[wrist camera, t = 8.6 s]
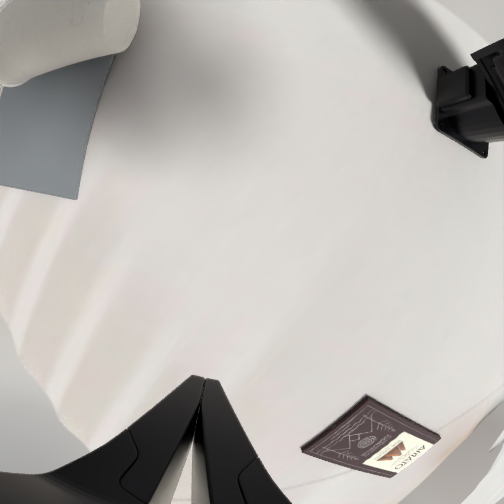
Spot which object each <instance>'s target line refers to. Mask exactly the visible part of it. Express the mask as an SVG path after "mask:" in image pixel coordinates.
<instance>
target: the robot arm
mask: <svg viewBox="0 0 504 504" xmlns="http://www.w3.org/2000/svg"><path fill="white" fill-rule="evenodd" d="M470 55H471V57H472V58H473V60H474V61H476V63H477V64H476V65H474V66H472V67H468V66H464V67H462V68H460V69H458V70H456V71H451V70H449V69H448V68H446V67H445V66H441V67H439V68H438V79H437V97H436V104H437V106H436V118H435V128H436V130H437V131H438V132H440V133H442V134H443V135H445V136H447V137H449V138H450V139H452V140H454V141H455V142H457V143H459V144H460V145H462V146H464V147H465V148H467V149H468V150H470V151H471V152H473V153H475V154H476V155H478V156H479V157H481V158H487V156H488V145H489V142H498V141H504V39H501V40H499V41H497V42H495V43H493V44H491V45H488V46H486V47H484V48H482V49H480V50H478V51H476V52H474V53H472V54H470ZM443 71H444V72H443ZM440 124H441V126H442V128H441V127H440ZM204 382H205V383H204ZM203 387H204V388H203ZM202 392H203V393H202ZM201 397H202V398H201ZM200 402H201V403H200ZM199 407H200V408H199ZM198 412H199V413H198ZM197 417H198V418H197ZM196 422H197V423H196ZM195 427H196V428H195ZM194 432H195V433H194ZM193 437H194V439H193ZM192 441H193V450H192V504H292V503H291V502H290V501H289V499H288V498H287V497H286V496H285V495H284V494H283V492H282V491H281V490H280V489H279V487H278V486H277V485H276V483H275V482H274V481H273V479H272V478H271V476H270V475H269V473H268V472H267V470H266V469H265V467H264V465H263V463H262V462H261V460H260V458H258V455H257V453H256V451H255V450H254V448H253V446H252V444H251V442H250V441H249V439H248V437H247V435H246V433H245V431H244V429H243V427H242V426H241V424H240V422H239V420H238V418H237V416H236V414H235V412H234V410H233V408H232V406H231V404H230V402H229V400H228V398H227V396H226V394H225V392H224V390H223V388H222V386H221V384H220V382H219V381H218V380H214V379H209V378H206V379H205V378H204V377H200V376H196V375H191V376H190V377H189V378H187V379H186V380H185V381H184V382H183V383H182V384H180V385H179V386H178V387H177V388H176V389H174V390H173V391H172V392H171V393H170V394H169V395H167V396H166V397H165V398H164V399H162V400H161V401H160V402H159V403H158V404H156V405H155V406H154V407H153V408H152V409H150V410H149V411H148V412H147V413H145V414H144V415H143V416H142V417H140V418H139V419H138V420H137V421H135V422H134V423H133V424H132V425H130V426H129V427H128V428H127V429H125V430H124V431H122V432H121V433H120V434H119V435H117V436H116V437H114V438H113V439H112V440H110V441H109V442H107V443H106V444H104V445H103V446H101V447H99V448H97V449H96V450H94V451H92V452H90V453H88V454H86V455H85V456H82V457H81V458H79V459H77V460H75V461H72V462H70V463H69V464H66V465H65V466H62V467H60V468H58V469H56V470H53V471H50V472H47V473H43V474H19V473H8V472H0V504H170V503H171V500H172V498H173V495H174V492H175V489H176V487H177V484H178V481H179V478H180V476H181V473H182V470H183V467H184V464H185V462H186V459H187V456H188V453H189V450H190V448H191V444H192Z"/></svg>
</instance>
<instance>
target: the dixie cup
mask: <svg viewBox="0 0 504 504" xmlns="http://www.w3.org/2000/svg"><path fill="white" fill-rule="evenodd" d="M139 17H140V0H9V1H8V2H6V3H5V4H4V5H3V6H2V7H1V8H0V85H2V86H5V87H16V86H19V85H22V84H24V83H25V82H27V81H28V80H29V79H31V78H33V77H36V76H38V75H41V74H44V73H47V72H50V71H52V70H55V69H58V68H62V67H65V66H68V65H71V64H75V63H78V62H82V61H85V60H89V59H93V58H97V57H101V56H106V55H110V54H115V53H120V52H123V51H124V50H126V49H127V48H128V47H129V45H130V44H131V42H132V40H133V38H134V36H135V33H136V30H137V27H138V23H139Z"/></svg>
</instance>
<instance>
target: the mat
mask: <svg viewBox="0 0 504 504" xmlns="http://www.w3.org/2000/svg"><path fill="white" fill-rule="evenodd" d="M115 54H116V53H115ZM115 54H110V55H106V56H101V57H97V58H93V59H89V60H85V61H82V62H78V63H75V64H71V65H68V66H65V67H62V68H58V69H55V70H52V71H50V72H47V73H44V74H41V75H38V76H36V77H33V78H31V79H29V80H28V81H27V82H25V83H24V84H22V85H19V86H16V87H5V86H4V88H3V91H2V95H1V98H0V185H2V186H7V187H12V188H17V189H22V190H28V191H33V192H38V193H43V194H48V195H53V196H58V197H63V198H68V199H73V200H76V199H77V198H78V191H79V185H80V179H81V173H82V168H83V163H84V158H85V153H86V148H87V144H88V140H89V136H90V132H91V128H92V124H93V120H94V116H95V113H96V109H97V106H98V103H99V100H100V96H101V93H102V90H103V87H104V84H105V81H106V78H107V76H108V73H109V70H110V67H111V65H112V62H113V60H114V57H115Z"/></svg>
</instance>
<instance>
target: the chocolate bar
mask: <svg viewBox="0 0 504 504" xmlns="http://www.w3.org/2000/svg"><path fill="white" fill-rule="evenodd" d="M440 439H441V437H440V436H439V435H437V434H435V433H433V432H431V431H429V430H427V429H425V428H423V427H422V426H420V425H418V424H416V423H414V422H412V421H410V420H408V419H407V418H405V417H403V416H401V415H399V414H398V413H396V412H394V411H392V410H390V409H389V408H387V407H385V406H383V405H382V404H380V403H378V402H376V401H375V400H373V399H371V398H369V397H368V396H367V397H366V398H365V399H364V400H362V401H361V402H360V403H359V404H358V405H357V406H356V407H355V408H353V409H352V410H351V411H350V412H349V413H348V414H346V415H345V416H344V417H343V418H342V419H340V420H339V421H338V422H337V423H335V424H334V425H333V426H332V427H330V428H329V429H328V430H326V431H325V432H324V433H323V434H321V435H320V436H319V437H317V438H316V439H315V440H313V441H312V442H310V443H309V444H308V445H306V446H305V447H303V448H302V449H301V450H302V453H305V454H307V455H310V456H313V457H316V458H319V459H322V460H325V461H328V462H331V463H334V464H337V465H341V466H344V467H348V468H351V469H355V470H358V471H362V472H366V473H370V474H374V475H379V476H383V477H388V478H391V477H393V476H394V475H396V474H397V473H399V472H400V471H401V470H403V469H404V468H405V467H407V466H408V465H409V464H411V463H412V462H413V461H415V460H416V459H417V458H418V457H420V456H421V455H422V454H423V453H425V452H426V451H427V450H428V449H429V448H431V447H432V446H433V445H434V444H435V443H436V442H438V441H439V440H440Z"/></svg>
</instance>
